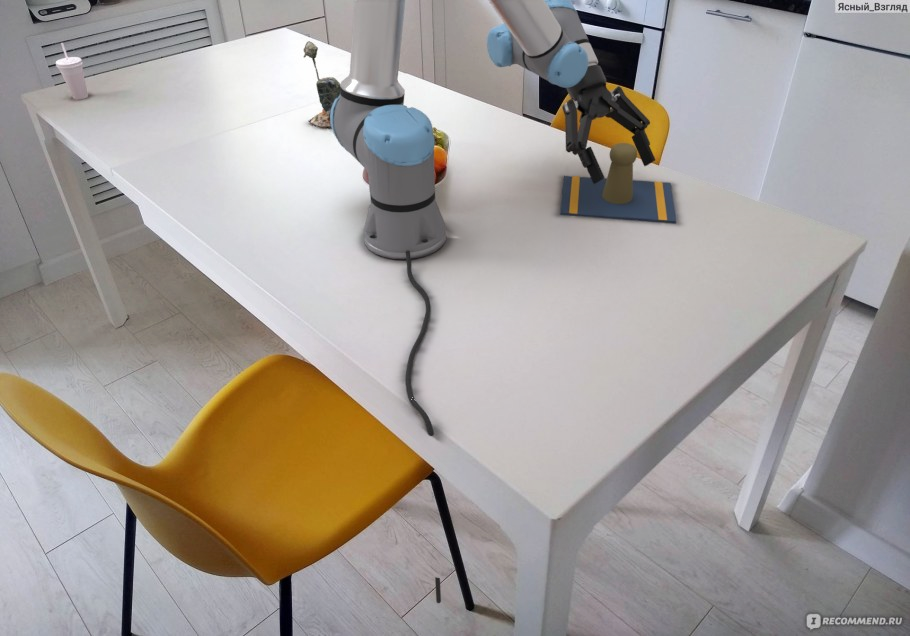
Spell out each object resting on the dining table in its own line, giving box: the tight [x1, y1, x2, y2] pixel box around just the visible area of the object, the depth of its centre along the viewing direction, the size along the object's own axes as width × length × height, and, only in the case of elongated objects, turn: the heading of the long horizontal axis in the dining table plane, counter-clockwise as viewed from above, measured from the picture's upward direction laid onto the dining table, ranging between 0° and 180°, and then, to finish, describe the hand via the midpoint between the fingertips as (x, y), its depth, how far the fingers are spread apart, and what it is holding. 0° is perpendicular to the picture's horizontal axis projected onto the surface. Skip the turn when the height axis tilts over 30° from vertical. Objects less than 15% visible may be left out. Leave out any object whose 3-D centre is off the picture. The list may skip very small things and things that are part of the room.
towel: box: [559, 175, 677, 224], centre depth 144 cm, size 16×22×1 cm
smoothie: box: [55, 42, 89, 100], centre depth 188 cm, size 6×6×14 cm
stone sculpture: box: [303, 40, 341, 128], centre depth 170 cm, size 8×11×20 cm
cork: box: [602, 142, 638, 204], centre depth 140 cm, size 6×6×11 cm
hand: (625, 172), depth 139 cm, fingers open, 13 cm apart
